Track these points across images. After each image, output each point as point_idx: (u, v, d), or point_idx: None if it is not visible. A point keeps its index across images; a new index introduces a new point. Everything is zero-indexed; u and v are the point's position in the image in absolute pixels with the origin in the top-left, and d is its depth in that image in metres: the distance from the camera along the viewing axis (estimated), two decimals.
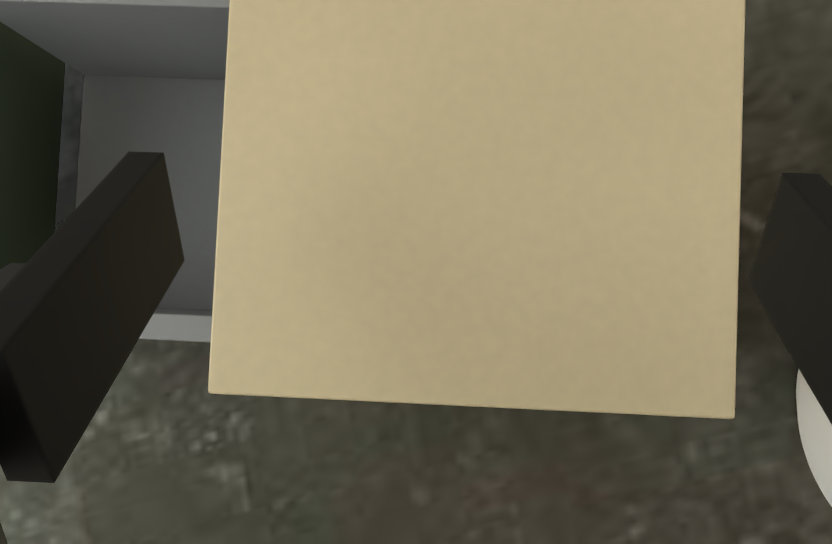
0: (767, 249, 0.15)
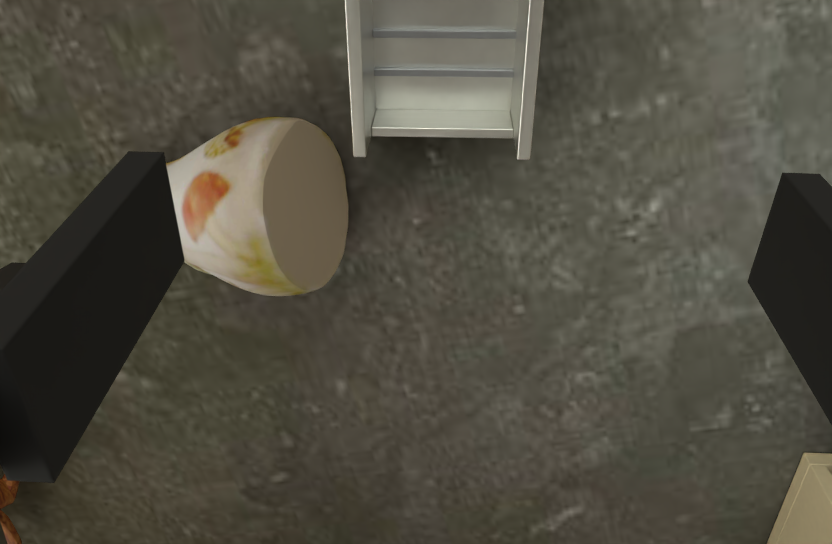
0: (767, 249, 0.15)
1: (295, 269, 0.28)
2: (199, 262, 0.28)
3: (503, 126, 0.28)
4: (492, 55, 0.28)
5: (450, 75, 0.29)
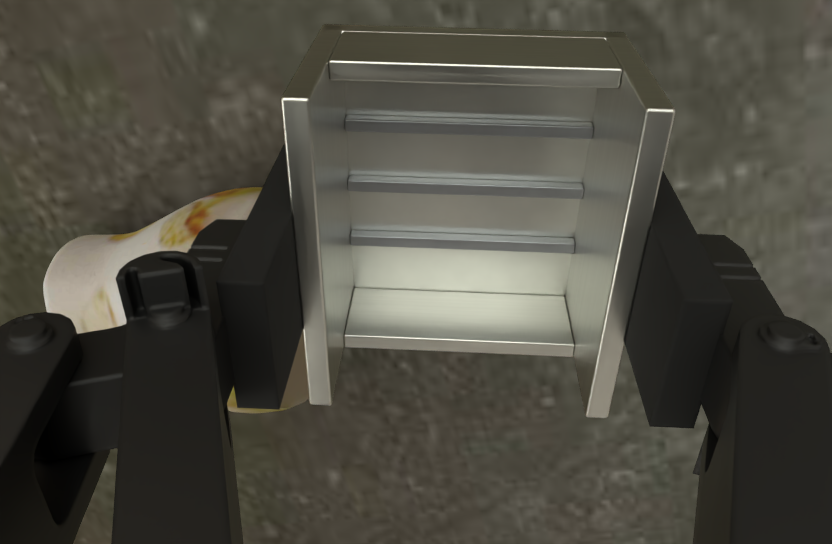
0: None
1: None
2: None
3: (557, 337, 0.17)
4: (541, 219, 0.18)
5: (473, 248, 0.18)
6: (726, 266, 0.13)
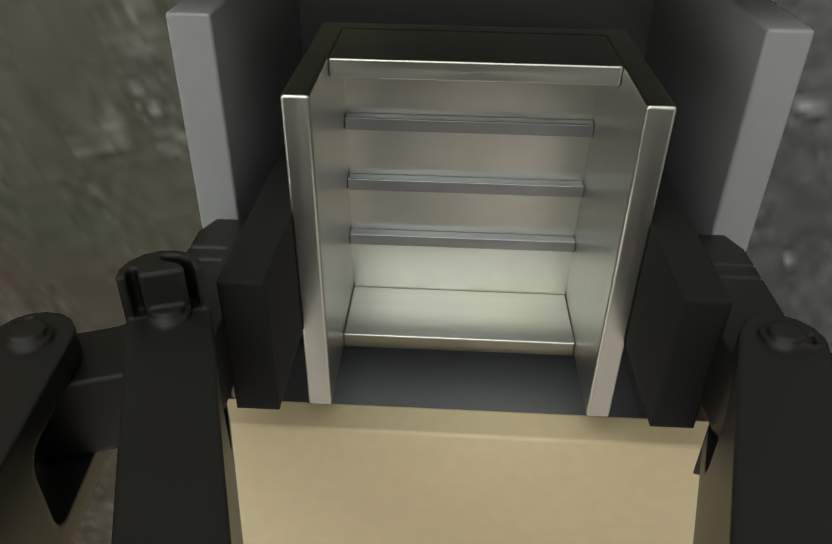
0: None
1: None
2: None
3: (558, 336, 0.17)
4: (541, 217, 0.18)
5: (473, 246, 0.18)
6: (726, 267, 0.13)
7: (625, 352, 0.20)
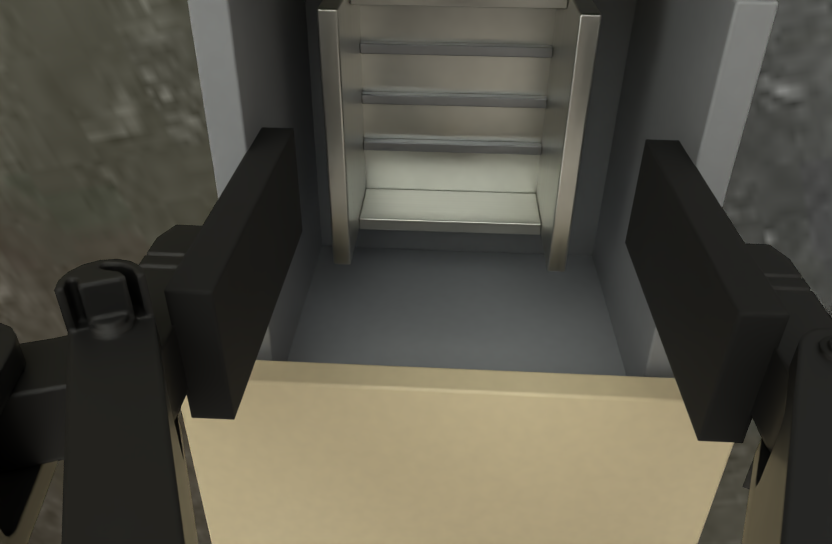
0: (636, 210, 0.17)
1: None
2: None
3: (528, 219, 0.22)
4: (515, 127, 0.22)
5: (461, 151, 0.22)
6: (774, 277, 0.13)
7: (613, 318, 0.22)
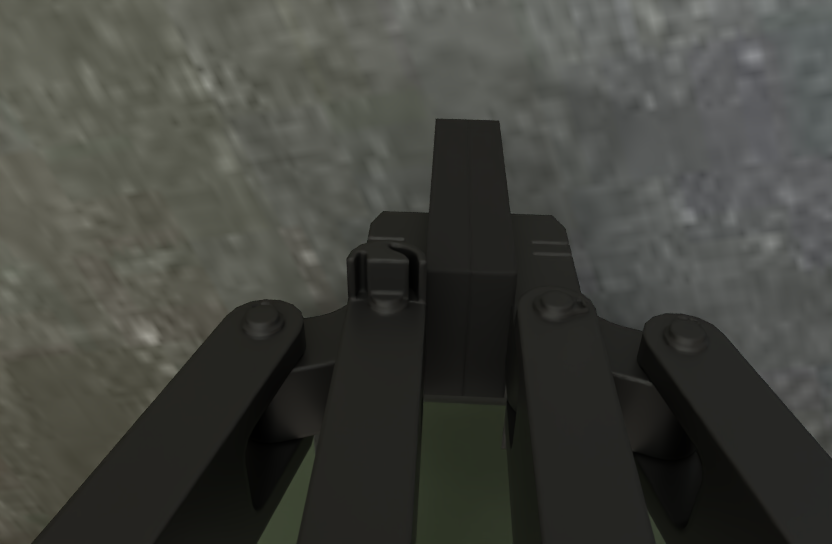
0: None
1: None
2: None
3: None
4: None
5: None
6: (542, 244, 0.14)
7: None
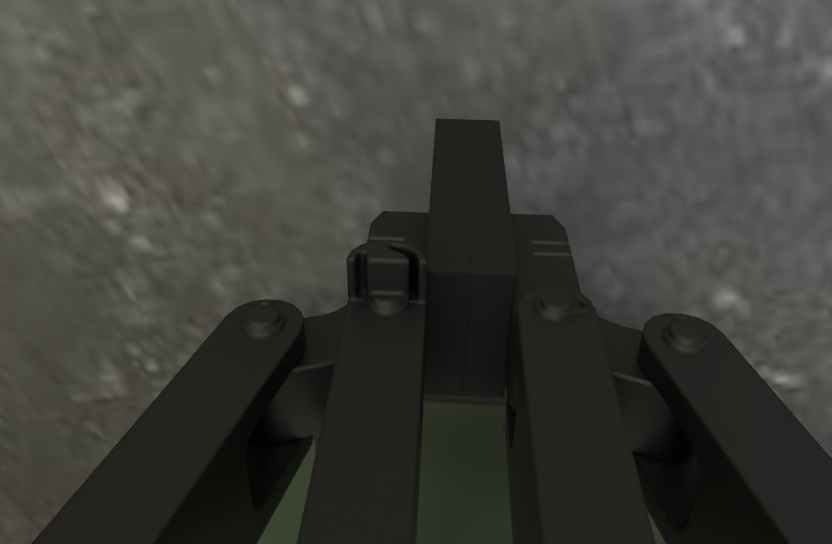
0: None
1: None
2: None
3: None
4: None
5: None
6: (542, 244, 0.14)
7: None
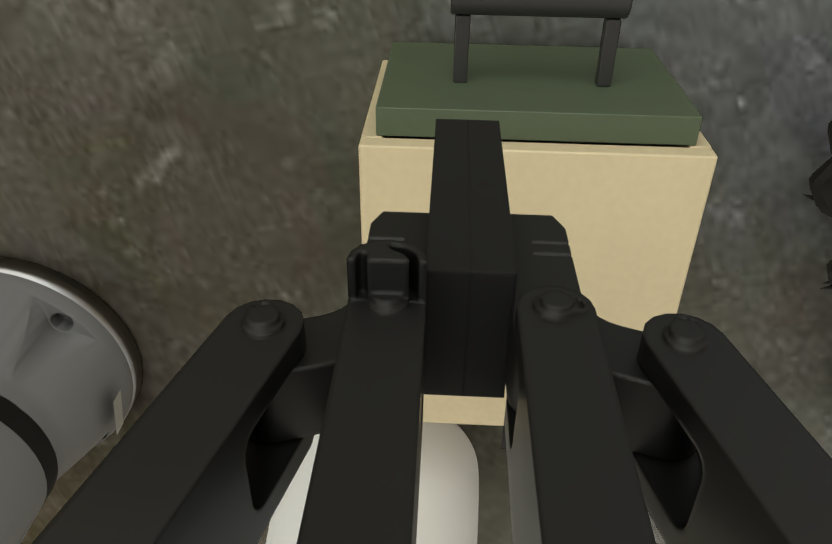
0: None
1: None
2: None
3: None
4: None
5: None
6: (542, 244, 0.14)
7: None
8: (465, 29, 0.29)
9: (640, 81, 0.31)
